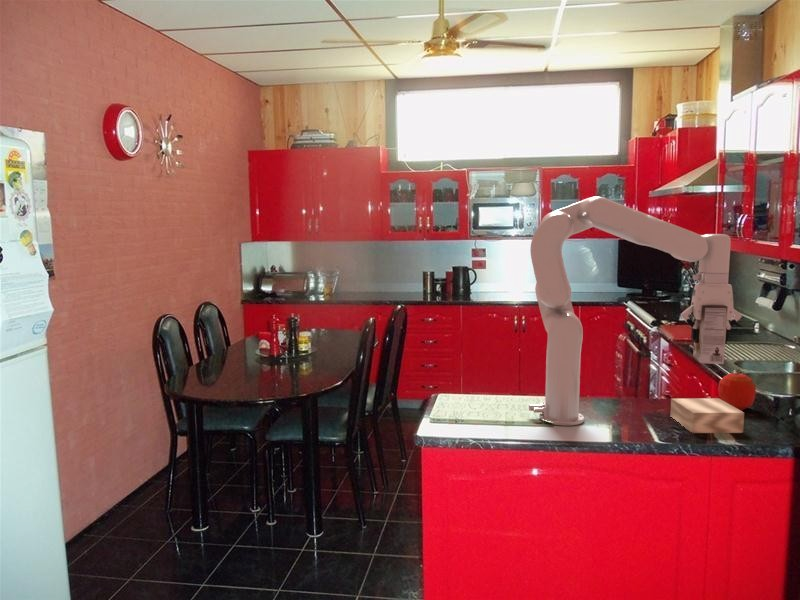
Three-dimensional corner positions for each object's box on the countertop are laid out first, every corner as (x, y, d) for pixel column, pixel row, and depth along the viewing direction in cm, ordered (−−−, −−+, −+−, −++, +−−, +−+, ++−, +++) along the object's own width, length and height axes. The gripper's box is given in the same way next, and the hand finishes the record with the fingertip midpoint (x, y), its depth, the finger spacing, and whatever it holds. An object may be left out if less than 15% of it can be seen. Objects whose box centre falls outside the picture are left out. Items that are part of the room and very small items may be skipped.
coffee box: (692, 356, 187) (695, 301, 185) (716, 357, 186) (719, 301, 184) (700, 363, 178) (703, 305, 176) (725, 364, 177) (729, 306, 175)
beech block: (692, 434, 177) (693, 412, 177) (670, 418, 191) (671, 398, 190) (742, 433, 177) (744, 412, 177) (717, 418, 191) (718, 398, 191)
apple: (758, 407, 201) (761, 371, 199) (748, 415, 193) (751, 377, 192) (723, 401, 207) (725, 366, 206) (712, 408, 200) (715, 371, 199)
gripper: (684, 280, 176) (681, 344, 179) (752, 280, 174) (747, 345, 177) (676, 277, 184) (672, 339, 186) (740, 278, 182) (736, 340, 184)
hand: (709, 342), depth 181 cm, fingers closed on coffee box, 6 cm apart
